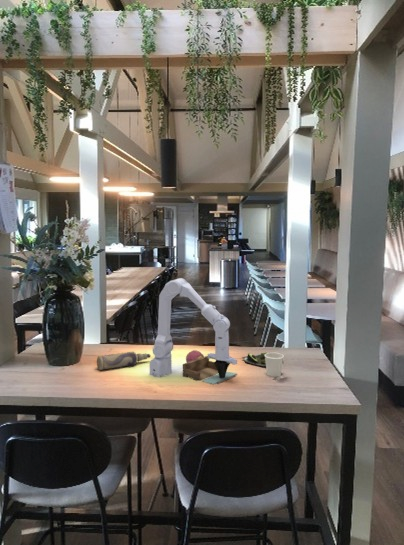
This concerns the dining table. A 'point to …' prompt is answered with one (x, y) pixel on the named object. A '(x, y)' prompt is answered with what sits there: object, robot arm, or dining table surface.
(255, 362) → the salad plate
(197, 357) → the cupcake
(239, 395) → the dining table surface
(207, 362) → the cart bed
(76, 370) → the dining table surface
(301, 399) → the dining table surface
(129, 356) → the decorative bottle
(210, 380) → the panel
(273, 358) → the dixie cup
